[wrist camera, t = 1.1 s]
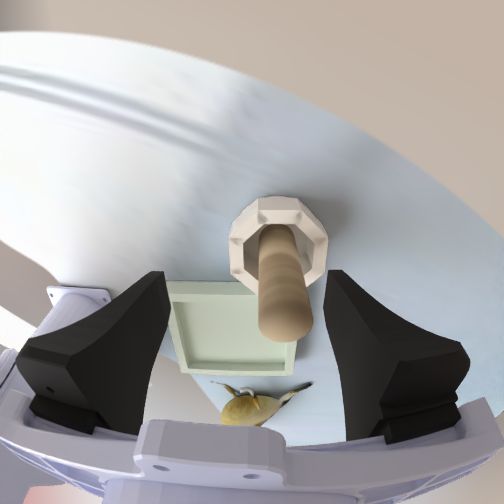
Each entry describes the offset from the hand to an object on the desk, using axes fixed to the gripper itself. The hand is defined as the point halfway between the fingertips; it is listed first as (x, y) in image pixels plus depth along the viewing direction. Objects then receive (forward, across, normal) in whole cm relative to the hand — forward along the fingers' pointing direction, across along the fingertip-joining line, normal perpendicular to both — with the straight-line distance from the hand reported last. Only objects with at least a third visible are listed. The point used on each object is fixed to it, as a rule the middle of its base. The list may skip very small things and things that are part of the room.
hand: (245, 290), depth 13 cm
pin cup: (+10, -2, +2) cm, 10 cm away
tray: (+10, +2, +11) cm, 15 cm away
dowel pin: (+9, -2, +2) cm, 9 cm away
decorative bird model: (+10, 0, +23) cm, 25 cm away
